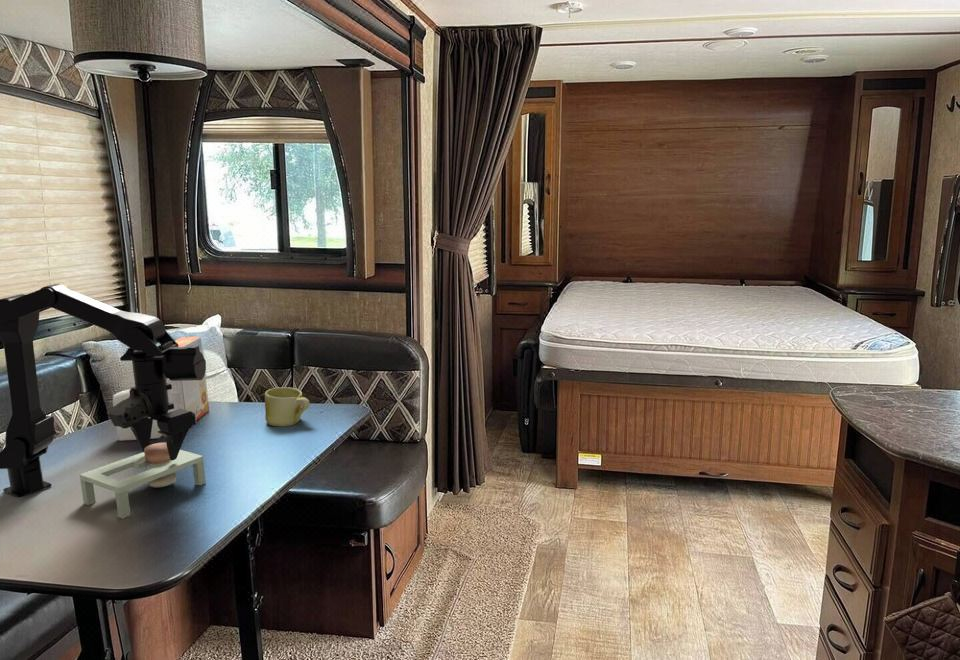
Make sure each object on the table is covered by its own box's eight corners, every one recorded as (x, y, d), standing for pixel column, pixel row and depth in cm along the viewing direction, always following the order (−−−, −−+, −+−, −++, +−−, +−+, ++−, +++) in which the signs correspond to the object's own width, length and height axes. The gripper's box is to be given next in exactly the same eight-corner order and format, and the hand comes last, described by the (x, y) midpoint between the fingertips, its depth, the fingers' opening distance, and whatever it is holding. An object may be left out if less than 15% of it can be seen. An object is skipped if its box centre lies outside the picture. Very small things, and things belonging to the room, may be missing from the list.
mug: (249, 417, 182) (261, 380, 182) (280, 418, 191) (292, 383, 190) (278, 435, 175) (291, 397, 175) (310, 436, 184) (321, 399, 183)
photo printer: (115, 442, 172) (108, 393, 170) (122, 436, 176) (115, 388, 174) (159, 439, 173) (153, 390, 170) (165, 433, 177) (159, 386, 175)
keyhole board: (83, 503, 138) (79, 474, 137) (166, 471, 153) (163, 445, 152) (122, 518, 131) (118, 488, 130) (205, 483, 146) (202, 456, 145)
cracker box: (188, 411, 195) (180, 336, 191) (210, 410, 195) (202, 336, 191) (164, 428, 181) (155, 348, 177) (188, 428, 181) (179, 347, 177)
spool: (142, 484, 144) (138, 449, 143) (165, 475, 149) (161, 440, 147) (158, 489, 142) (154, 453, 140) (181, 479, 146) (177, 445, 144)
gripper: (83, 384, 139) (94, 460, 142) (141, 398, 129) (150, 478, 132) (136, 371, 148) (145, 442, 152) (194, 383, 139) (202, 459, 142)
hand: (159, 455), depth 144 cm, fingers open, 9 cm apart
